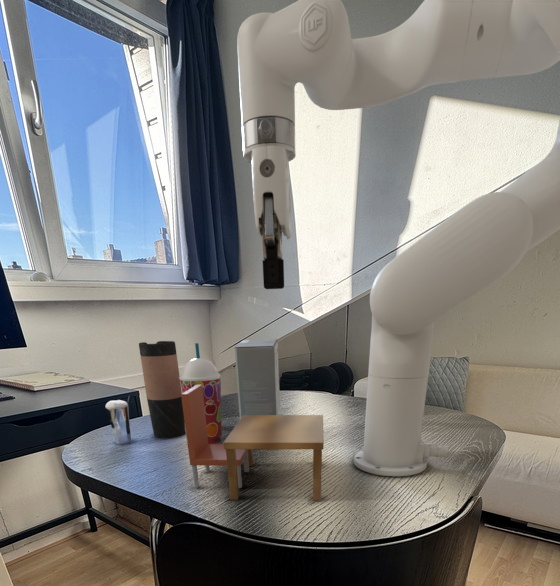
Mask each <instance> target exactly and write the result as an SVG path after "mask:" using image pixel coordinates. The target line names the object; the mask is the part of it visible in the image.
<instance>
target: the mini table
mask: <svg viewBox="0 0 560 586" xmlns="http://www.w3.org/2000/svg"><path fill="white" fill-rule="evenodd" d="M233 427H234V428H232V430H231V432H230V433H229V434H228V435H227V437H226V438H225V440H224V441H223V444H224V449H226V457H227V466H226V467H227V480H228V490H229V491H228V492H229V501H231V500H232V501H238V500H239V498H240V488H239V487H238V473H237V460H236V449H249V450H248V461H249V467H253V465H254V453H253V452H254V451H253V450H312V501H313V502H321V501H322V475H323V473H322V471H323V469H322V468H323V450H324V448H325V447H324V446H325V445H324V440H325V439H324V415H323V414H281V415H243V416H242V418H241V419H240V418H239V421H237V422H236V425H235V426H233Z"/></svg>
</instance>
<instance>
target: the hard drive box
mask: <svg viewBox="0 0 560 586" xmlns="http://www.w3.org/2000/svg"><path fill="white" fill-rule="evenodd" d="M278 344H279V343H278V339H276V338H263V339H261V338H260V339H243V340H242V341H241V342H239V343H238V344H237V345H235V346H234V359H235V371H236V372H235V373H236V384H237V386H236V387H237V399H238V412H239V420H240V419H241V418H242V416H243V415H282V414H281V395H280V370H279V345H278Z"/></svg>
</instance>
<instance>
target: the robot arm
mask: <svg viewBox="0 0 560 586" xmlns="http://www.w3.org/2000/svg"><path fill="white" fill-rule="evenodd" d="M351 32H352V31H351V27H350V21H349V16H348V13H347V10H346V7H345V5H344V3H343V1H342V0H297V1H295V2H293V3H291V4H289V5H287V6H285V7H283V8H282V9H280V10H278V11H276V12H259V13H253V14H252V15H249V16H248V17H247V18H245V20H244V21H242V23H241V24H240V26H239V28H238V32H237V38H236V49H237V66H238V67H237V68H238V81H239V82H238V83H239V84H238V85H239V99H240V101H239V102H240V117H241V118H240V119H241V137H242V138H241V139H242V155H243V156H242V157H243V160H244V161H245V162H247V163H249V164H251V179H252V181H251V182H252V183H251V184H252V200H253V213H254V222H255V230H256V232H257V234H258V235H259V237H260V238H261V239H262V255H263V259H262V279H263V280H262V281H263V288H264V290H281V289H284V288H285V264H284V263H285V262H284V261H285V260H284V259H283V236H284V237H286V239H287V240H290V239H291V237H292V218H291V215H292V213H291V212H292V211H291V181H290V164H289V162H291V161H293V160H294V159H295V158H296V103H295V102H296V101H295V99H296V98H295V97H296V95H295V87H296V85H297V84H299V83H300V84H302V86H303V88H304V90H305V92H306V95H307V97H308V99H310V101H311V102H312V103H313V104H314V105H315V106H317V107H319V108H320V109H324V110H327V111H346V110H355V109H356V110H357V109H365V108H372V107H373V108H374V107H378V106H382V105H386V104H388V103H391V102H394V101H396V100H399V99H402V98H405V97H408V96H410V95H413V94H415V93H418V92H419V91H421V90H423V89H425V88H428V87H429V86H434V85H441V84H449V83H458V82H465V81H475V80H476V81H477V80H486V79H499V78H508V77H516V76H518V77H519V76H525V75H526V76H527V75H533V74H537V73H540V72H543V71H545V70H547V69H550V68H551V67H553V66H554V65H556V64H557V63H558V62H559V61H560V0H423V2H421V4H420V5H419V6H418V8H417V9H416V10H415V11H414V13H412V14H411V16H410V17H408V18H407V19H406V20H405V21H404V22H402V23H401V24H400V25H399V26H397V27H394V28H393V29H391V30H389V31H386V32H384V33H381V34H377V35H373V36H367V37H359V38H358V37H357V38H353V37H352V33H351ZM559 230H560V119H559V120H558V126H557V131H556V137H555V140H554V144H553V146H552V148H551V149H550V151H549V152H548V154H547V155H546V156H545V157H544V158H543V159H541V161H539V162H538V163H537V164H535V165H534V166H532V167H531V168H529V169H528V170H527V171H525V172H524V173H523V174H521V175H520V176H519V177H518V178H517V179H515V180H514V181H513V182H511V183H510V184H509V185H507V186H505V188H503V189H502V190H500V191H495V192H490V193H489V192H488V193H486V194H483V195H481V196H479V197H477V198H475V199H473V200H472V201H470V202H468V203H466V205H464V206H463V207H461V208H460V209H458V210H457V211H455V212H454V213H453V214H451V215H450V216H449V217H447V218H446V219H445V220H444V221H443V222H441V223H440V224H437V226H436V227H435V228H433V229H431V230H430V231H429V232H427V233H426V234H425V235H424V236H422V237H421V238H420V239H418V240H417V241H415V242H414V243H413V244H412V245H410V246H409V247H408V248H406V249H404V250H403V251H402V252H401V253H400V254H398V255H396V256H395V257H394V258H392V259H391V260H390V261H389V262H387V264H385V265H384V266H383V267H382V269H381V270H380V271H379V272H378V274H377V275H376V277H375V278H374V280H373V282H372V286H371V289H370V292H369V306H370V312H371V326H370V327H371V329H370V340H369V341H370V342H369V356H368V357H369V358H368V371H367V387H366V403H365V418H364V420H365V421H364V433H363V434H364V435H363V449H362V450H360V451H358V452H356V454H354V456H353V464H354V466H355V467H356V468H358V469H359V470H361V471H363V472H365V473H368V474H372V475H377V476H383V477H408V476H414V475H417V474H418V475H419V474H421V473H422V472H424V471H426V469H427V466H428V460H429V458H430V457H435V458H448V456H449V451H450V450H449V449H450V448H449V446H448V445H438V443H437V442H429V443H426V442H424V441H423V439H422V431H423V423H424V415H425V406H426V399H427V391H428V381H429V376H430V375H429V374H430V368H431V360H432V350H433V340H434V329H435V322H436V321H438V320H439V319H441V318H442V317H444V316H445V315H447V314H449V313H450V312H453V310H455V309H458V308H459V306H461V305H463V304H465V303H466V302H468V301H469V300H471V299H472V298H474V297H476V296H477V295H478V294H480V293H482V292H483V291H485V290H487V289H488V288H490V287H491V286H492V285H494V284H495V283H497V282H499V281H500V280H502V279H503V278H504V277H506V276H507V275H508V274H509V273H511V272H512V271H513V270H514V269H515V268H516V267H517V266H518V265H519V263H520V262H521V261H522V260H523V258H524V256H525V255H526V253H527V252H529V251H531V250H532V249H533V248H535V247H536V246H538V245H539V244H541V243H542V242H544V241H546V240H547V238H549V237H551V236H552V235H554V234H555V233H556V232H558V231H559ZM427 459H428V460H427Z"/></svg>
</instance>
